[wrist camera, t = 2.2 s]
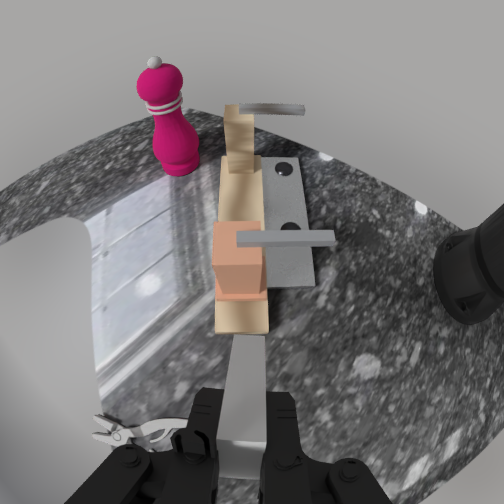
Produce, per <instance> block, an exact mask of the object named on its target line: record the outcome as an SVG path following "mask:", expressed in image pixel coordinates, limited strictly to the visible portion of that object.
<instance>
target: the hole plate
mask: <svg viewBox="0 0 504 504" xmlns="http://www.w3.org/2000/svg"><path fill="white" fill-rule="evenodd" d="M261 167H262V186H263V205H264V225H265V230H309V226H308V219H307V211H306V204H305V198H304V191H303V185H302V178H301V172H300V166H299V161H298V158H283V157H261ZM266 270H267V290H271V289H303V288H314V287H315V277H314V268H313V259H312V250H311V246H306V247H266Z"/></svg>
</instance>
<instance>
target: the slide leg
mask: <svg viewBox="0 0 504 504" xmlns="http://www.w3.org/2000/svg"><path fill="white" fill-rule="evenodd" d="M334 243H335V235H334V230H263V231H261V221H223V222H214V231H213V252H212V267H213V269H214V272H215V275H216V297H215V299H216V301H266V299H267V293H266V268H265V256H262V247H306V246H333V244H334Z"/></svg>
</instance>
